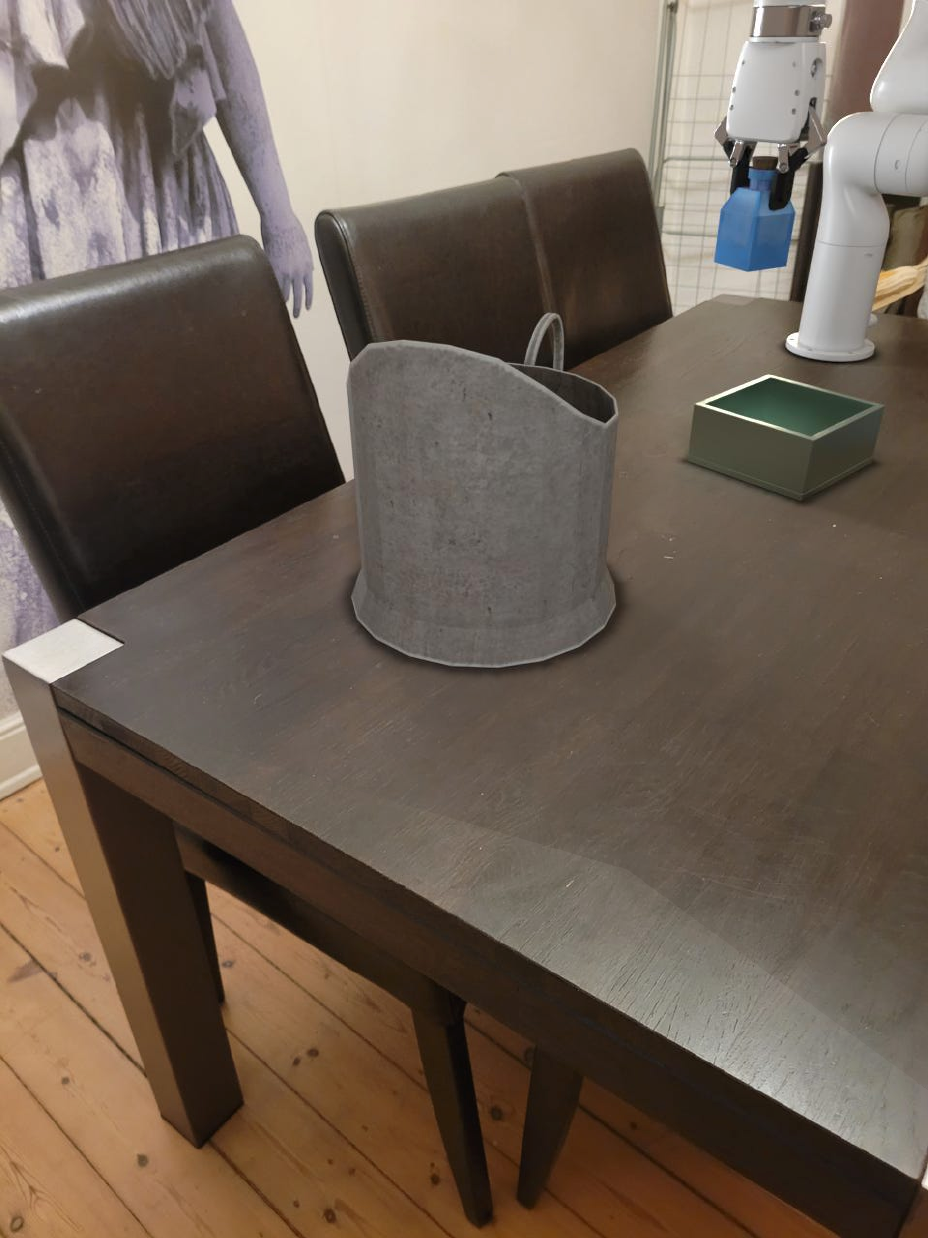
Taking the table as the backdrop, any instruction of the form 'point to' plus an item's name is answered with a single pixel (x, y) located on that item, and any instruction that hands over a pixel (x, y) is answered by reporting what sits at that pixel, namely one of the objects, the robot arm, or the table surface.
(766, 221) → the perfume bottle
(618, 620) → the table surface
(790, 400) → the basket
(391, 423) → the coal scuttle
